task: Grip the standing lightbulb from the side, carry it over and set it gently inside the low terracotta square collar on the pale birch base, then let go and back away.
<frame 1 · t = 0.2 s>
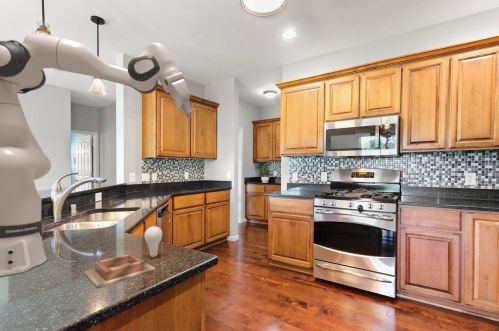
hand: (190, 114, 101), 54 cm above the countertop, tool tilted 30°, fingers open, 8 cm apart
socket block: (120, 271, 77), on the countertop
lightbulb: (153, 257, 90), on the countertop
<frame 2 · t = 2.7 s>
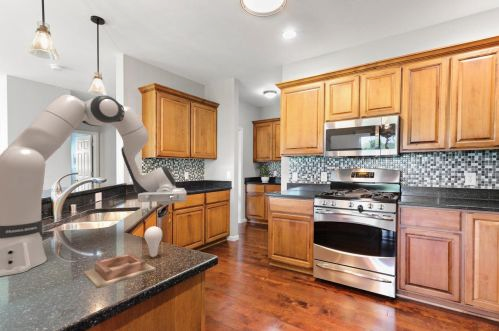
hand: (159, 198, 102), 20 cm above the countertop, tool horizontal, fingers open, 8 cm apart
nothing on the countertop moved.
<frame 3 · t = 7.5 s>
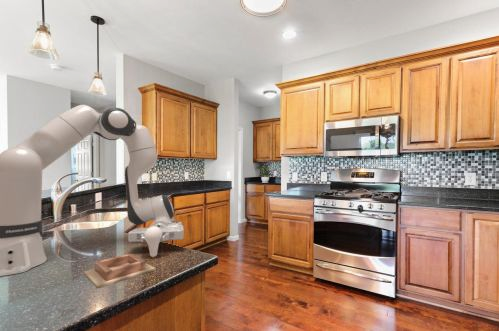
hand: (152, 239, 89), 7 cm above the countertop, tool horizontal, fingers closed on lightbulb, 5 cm apart
lightbulb: (153, 257, 90), on the countertop, touching gripper
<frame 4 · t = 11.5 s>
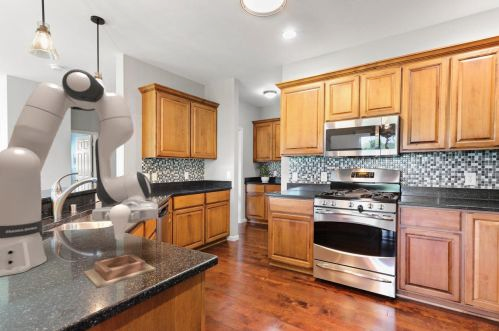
hand: (119, 217, 76), 17 cm above the countertop, tool horizontal, fingers closed on lightbulb, 5 cm apart
lightbulb: (119, 240, 77), point 10 cm above the countertop, touching gripper
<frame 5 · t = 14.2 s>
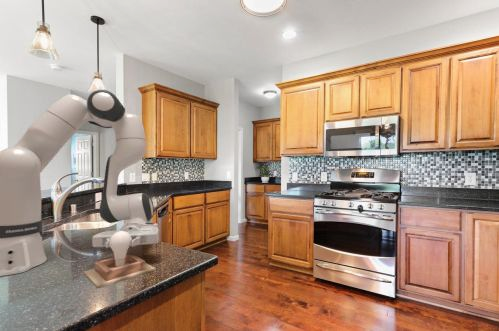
hand: (119, 244, 76), 9 cm above the countertop, tool horizontal, fingers closed on lightbulb, 5 cm apart
lightbulb: (119, 267, 77), point 1 cm above the countertop, touching gripper
when the fingers open (8 cm above the countertop, at t = 16.2 s): lightbulb stays where it is, resting on socket block.
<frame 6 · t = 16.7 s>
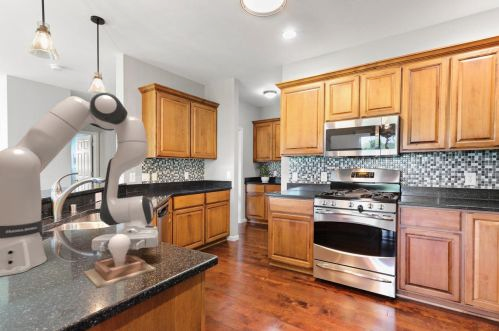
hand: (118, 248, 76), 8 cm above the countertop, tool horizontal, fingers open, 8 cm apart
lightbulb: (119, 270, 77), resting on socket block
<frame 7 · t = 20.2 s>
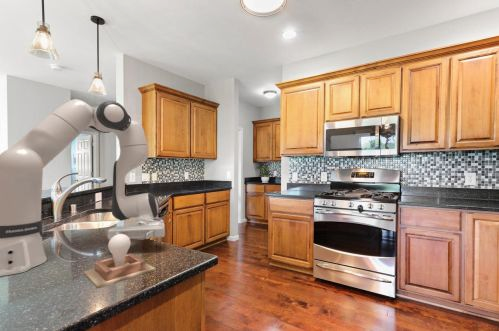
hand: (131, 237, 88), 8 cm above the countertop, tool horizontal, fingers open, 8 cm apart
nothing on the countertop moved.
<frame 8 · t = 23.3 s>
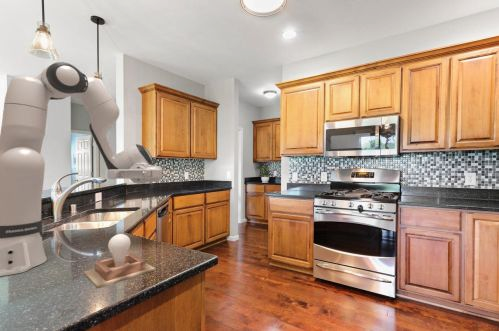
hand: (130, 174, 93), 30 cm above the countertop, tool horizontal, fingers open, 8 cm apart
nothing on the countertop moved.
at the end: lightbulb 0.2 cm off-centre on the socket block, point 0.4 cm above the socket block's base; lightbulb tilted 0°; the gripper is holding nothing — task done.
